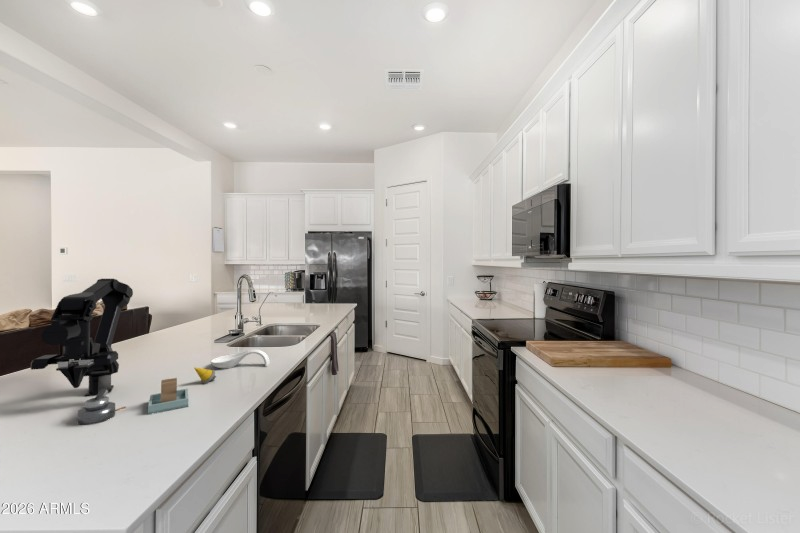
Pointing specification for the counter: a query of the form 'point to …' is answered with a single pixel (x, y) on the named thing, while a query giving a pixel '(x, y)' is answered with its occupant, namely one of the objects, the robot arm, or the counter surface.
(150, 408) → the tray
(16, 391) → the counter surface
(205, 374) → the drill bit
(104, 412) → the crank base
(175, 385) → the block
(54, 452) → the counter surface
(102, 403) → the crank
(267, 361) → the spoon rest
